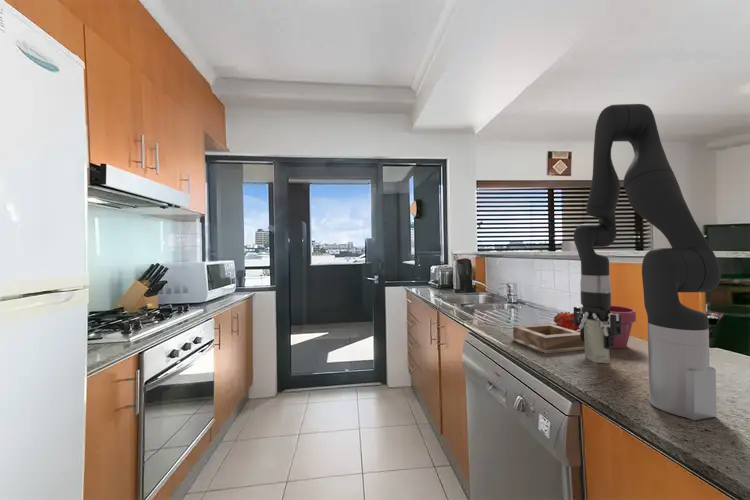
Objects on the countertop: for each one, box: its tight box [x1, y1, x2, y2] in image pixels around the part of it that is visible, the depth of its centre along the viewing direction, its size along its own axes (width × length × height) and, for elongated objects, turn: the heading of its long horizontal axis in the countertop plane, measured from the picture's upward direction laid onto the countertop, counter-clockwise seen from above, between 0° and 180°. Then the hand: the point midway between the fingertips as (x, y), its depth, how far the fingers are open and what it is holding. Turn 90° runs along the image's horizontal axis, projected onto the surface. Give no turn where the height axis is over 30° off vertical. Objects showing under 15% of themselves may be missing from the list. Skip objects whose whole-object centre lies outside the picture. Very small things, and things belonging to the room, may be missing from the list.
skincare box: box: [584, 319, 611, 364], centre depth 96 cm, size 6×4×12 cm
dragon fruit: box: [553, 311, 580, 332], centre depth 129 cm, size 8×8×12 cm
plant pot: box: [608, 304, 637, 349], centre depth 111 cm, size 14×14×13 cm
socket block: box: [512, 323, 585, 354], centre depth 112 cm, size 16×16×5 cm
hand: (596, 344), depth 96 cm, fingers closed on skincare box, 7 cm apart
